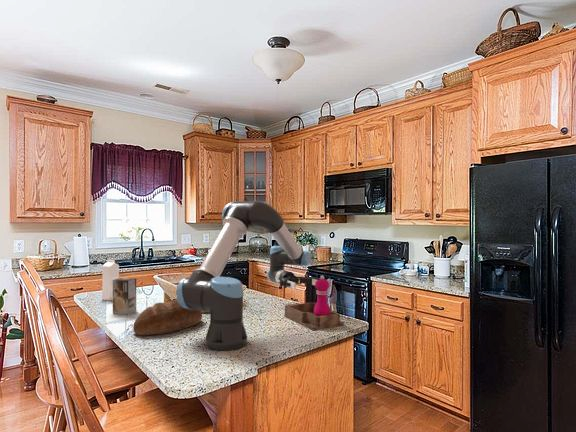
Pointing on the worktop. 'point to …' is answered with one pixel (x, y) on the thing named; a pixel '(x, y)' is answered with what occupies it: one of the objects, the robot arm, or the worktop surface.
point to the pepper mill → (322, 297)
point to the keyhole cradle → (311, 316)
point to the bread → (165, 318)
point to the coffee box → (124, 296)
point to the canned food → (166, 297)
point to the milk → (109, 278)
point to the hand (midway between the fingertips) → (308, 284)
